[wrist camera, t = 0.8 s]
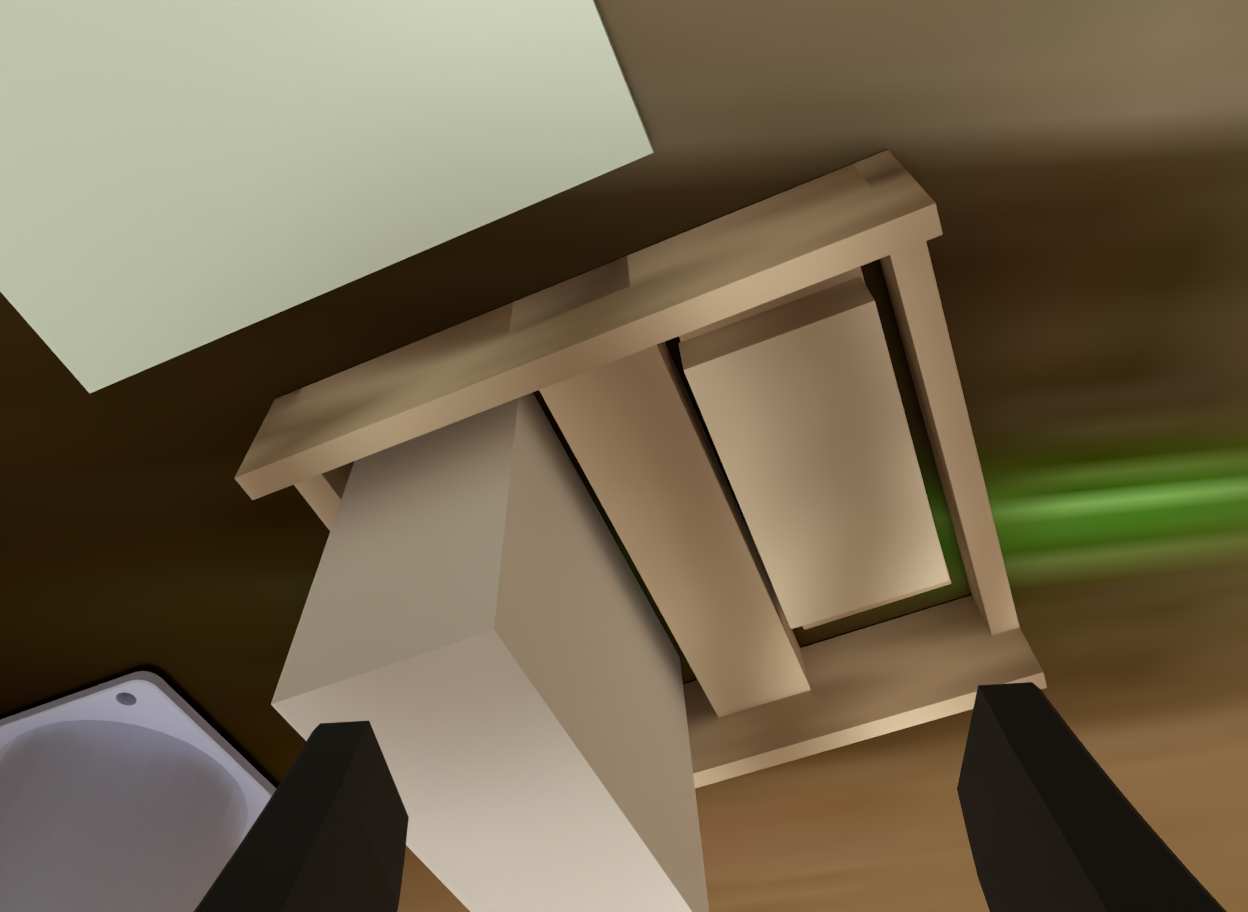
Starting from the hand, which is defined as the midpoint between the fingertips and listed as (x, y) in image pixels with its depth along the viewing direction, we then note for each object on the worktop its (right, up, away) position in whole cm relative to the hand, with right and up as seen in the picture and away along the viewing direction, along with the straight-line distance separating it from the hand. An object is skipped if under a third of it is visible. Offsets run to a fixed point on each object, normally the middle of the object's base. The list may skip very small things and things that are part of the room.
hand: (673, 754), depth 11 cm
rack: (+1, +2, +12) cm, 12 cm away
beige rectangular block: (-3, +1, +13) cm, 13 cm away
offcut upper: (+4, +4, +11) cm, 12 cm away
